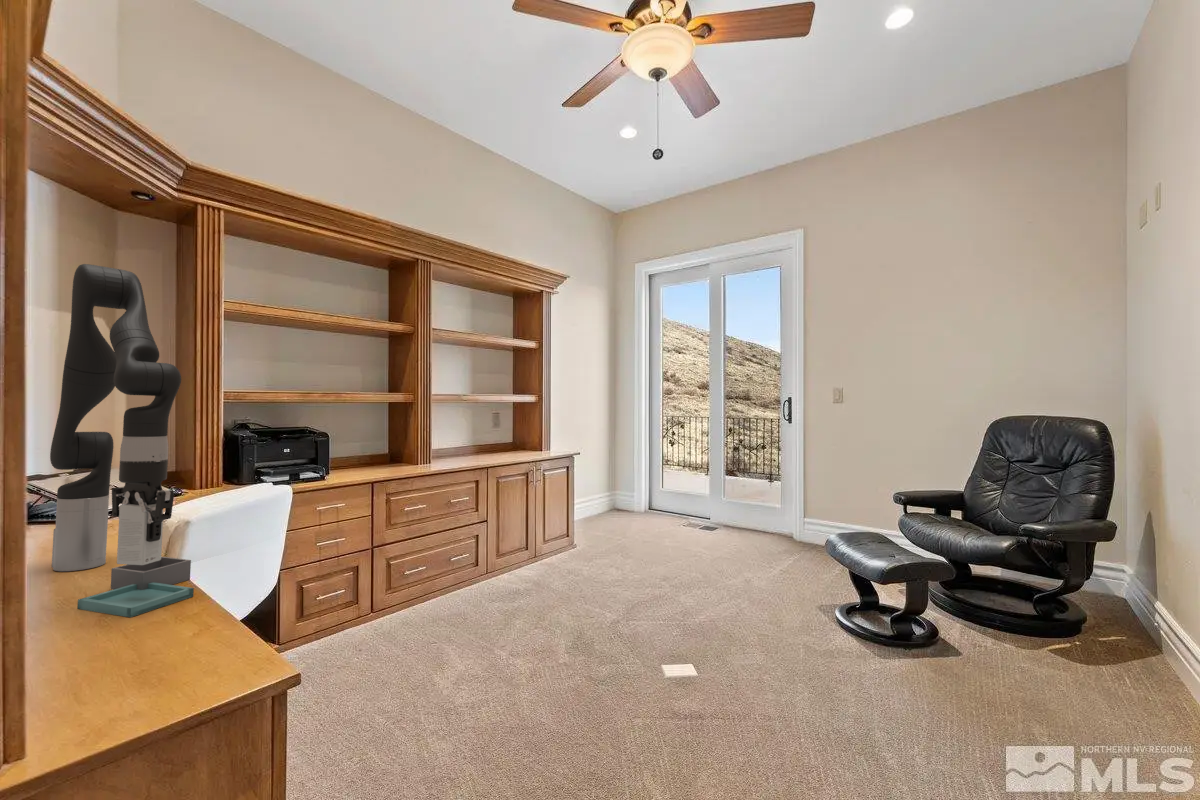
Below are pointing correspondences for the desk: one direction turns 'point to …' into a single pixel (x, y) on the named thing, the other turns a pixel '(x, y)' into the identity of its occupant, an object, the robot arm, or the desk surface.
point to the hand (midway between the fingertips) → (140, 539)
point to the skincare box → (136, 537)
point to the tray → (135, 599)
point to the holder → (151, 573)
